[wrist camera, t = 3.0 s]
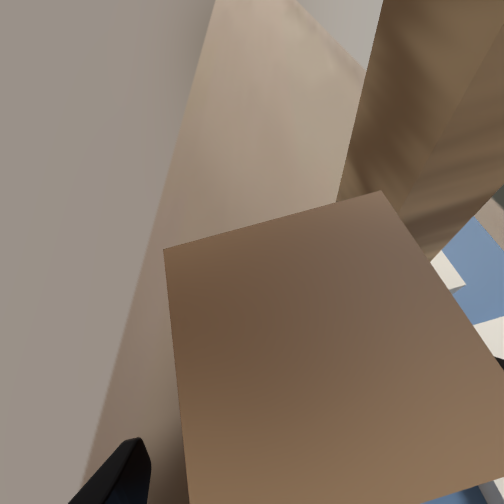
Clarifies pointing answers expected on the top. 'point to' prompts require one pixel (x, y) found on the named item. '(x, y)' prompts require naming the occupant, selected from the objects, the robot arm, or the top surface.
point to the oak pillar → (431, 115)
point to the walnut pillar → (328, 365)
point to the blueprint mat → (476, 316)
